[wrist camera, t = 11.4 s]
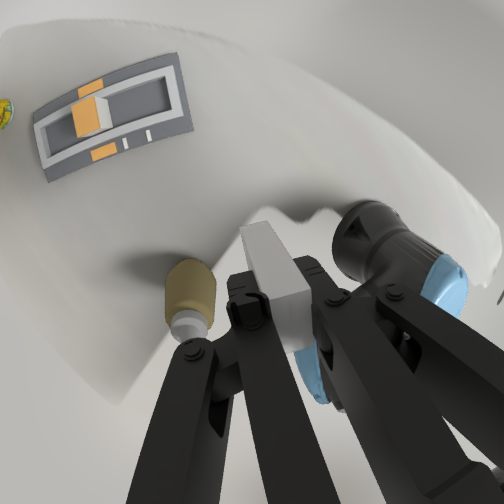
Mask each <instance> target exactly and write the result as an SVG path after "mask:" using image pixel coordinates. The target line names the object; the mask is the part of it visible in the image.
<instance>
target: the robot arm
mask: <svg viewBox="0 0 504 504" xmlns="http://www.w3.org/2000/svg"><path fill="white" fill-rule="evenodd" d="M240 232H241V236H242V241H243V246H244V250H245V255H246V259H247V264H248V268H249V271H246V272H242V273H238V274H233V275H230V277H229V279H228V281H227V289H228V295H229V301H228V302H227V306H226V309H227V313H228V316H229V319H230V322H231V325H232V326H231V328H230V330H229V331H228V332H227V333H226V334H225V335H224V336H222V337H221V338H219V339H217V340H215V341H212V342H211V341H209V340H207V339H206V338H200V337H197V338H191V339H188V340H186V341H184V342H182V343H181V344H180V345H179V346H178V347H177V349H176V350H175V352H174V354H173V357H172V359H171V363H170V365H169V368H168V371H167V374H166V377H165V379H164V382H163V385H162V388H161V391H160V394H159V397H158V400H157V403H156V406H155V409H154V412H153V415H152V418H151V421H150V424H149V427H148V430H147V433H146V437H145V439H144V443H143V446H142V449H141V452H140V456H139V459H138V463H137V466H136V469H135V473H134V476H133V479H132V483H131V486H130V490H129V493H128V497H127V501H126V504H219V501H220V493H221V486H222V479H223V472H224V465H225V457H226V451H227V443H228V436H229V429H230V422H231V415H232V407H233V399H234V395H235V394H237V393H239V392H241V391H243V390H244V395H245V400H246V406H247V410H248V416H249V420H250V425H251V430H252V435H253V440H254V444H255V449H256V454H257V458H258V462H259V467H260V471H261V476H262V480H263V484H264V489H265V493H266V497H267V501H268V504H341V503H340V500H339V498H338V495H337V492H336V489H335V487H334V484H333V481H332V479H331V476H330V473H329V471H328V468H327V465H326V463H325V460H324V457H323V454H322V452H321V449H320V447H319V444H318V441H317V438H316V436H315V433H314V430H313V428H312V425H311V422H310V419H309V417H308V414H307V411H306V408H305V406H304V403H303V400H302V398H301V395H300V392H299V389H298V387H297V384H296V381H295V378H294V376H293V373H292V370H291V367H290V365H289V362H288V360H287V357H286V354H287V353H291V352H294V356H295V359H296V363H297V366H298V369H299V372H300V374H301V377H302V379H303V381H304V383H305V385H306V387H307V389H308V391H309V392H310V393H311V395H313V397H314V399H315V400H316V401H317V402H318V403H320V404H329V403H330V402H332V403H333V405H334V406H335V408H336V409H337V411H338V412H342V413H346V414H347V416H348V418H349V420H350V423H351V425H352V427H353V429H354V431H355V434H356V436H357V438H358V440H359V442H360V445H361V447H362V449H363V451H364V453H365V456H366V458H367V460H368V462H369V465H370V467H371V469H372V471H373V474H374V476H375V478H376V480H377V483H378V485H379V487H380V489H381V492H382V494H383V496H384V499H385V501H386V503H387V504H504V351H503V350H502V349H500V348H499V347H497V346H496V345H495V344H493V343H492V342H490V341H489V340H487V339H486V338H485V337H483V336H482V335H480V334H479V333H478V332H476V331H475V330H473V329H471V328H470V327H469V326H467V325H466V324H464V323H463V322H461V321H460V320H458V318H459V316H460V314H461V312H462V309H463V307H464V304H465V302H466V298H467V293H468V277H467V274H466V272H465V270H464V269H463V268H462V267H461V266H460V265H459V264H458V263H457V262H456V261H454V260H453V259H452V258H451V256H450V255H448V254H445V253H444V252H442V251H441V250H439V249H438V248H436V247H435V246H433V245H432V244H430V243H429V242H427V241H425V240H424V239H422V238H421V237H419V236H418V235H416V234H414V233H413V232H411V231H410V230H409V229H408V227H407V226H406V225H405V224H404V223H403V221H402V219H401V217H400V216H399V214H398V213H397V212H396V211H395V210H393V209H392V208H390V207H389V206H387V205H385V204H383V203H380V202H366V203H363V204H360V205H358V206H356V207H355V208H353V209H352V210H351V211H349V212H348V213H347V214H346V215H345V217H344V218H343V219H342V221H341V222H340V224H339V225H338V227H337V229H336V231H335V234H334V237H333V242H332V254H333V259H334V261H335V264H336V265H337V267H338V268H339V269H340V270H341V272H342V273H343V274H344V275H345V276H347V277H348V278H349V279H351V280H354V281H357V282H360V283H361V284H362V285H361V286H359V287H358V288H357V289H355V290H354V291H353V292H350V291H348V290H346V289H343V288H338V286H337V285H336V284H335V282H334V281H333V280H332V279H331V277H330V276H329V275H328V273H327V272H325V270H324V268H323V267H321V265H320V263H319V262H318V261H317V260H316V259H315V258H313V257H310V256H308V255H307V256H303V257H299V258H295V259H292V258H291V256H290V255H289V253H288V252H287V250H286V249H285V247H284V246H283V244H282V243H281V241H280V239H279V238H278V236H277V235H276V233H275V232H274V230H273V229H272V227H271V226H270V224H269V223H268V221H263V222H259V223H255V224H250V225H246V226H241V227H240ZM442 416H443V417H444V418H445V419H446V420H447V421H448V422H449V423H450V424H451V425H452V426H453V427H455V428H456V429H457V430H458V431H459V432H460V433H461V434H462V435H463V436H464V437H465V438H467V439H468V440H469V441H470V442H471V443H472V444H473V445H474V446H475V447H476V448H477V449H479V450H480V451H481V452H482V453H483V454H484V455H485V456H486V457H487V458H488V459H489V460H490V461H492V462H493V463H494V464H495V465H496V466H497V467H496V468H494V469H493V470H490V468H489V467H488V466H487V465H485V464H483V463H481V462H475V461H471V460H470V459H468V457H467V456H466V455H465V453H464V451H463V450H462V448H461V446H460V445H459V443H458V441H457V440H456V438H455V436H454V435H453V433H452V432H451V430H450V429H449V427H448V425H447V424H446V422H445V421H444V419H443V417H442Z"/></svg>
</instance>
